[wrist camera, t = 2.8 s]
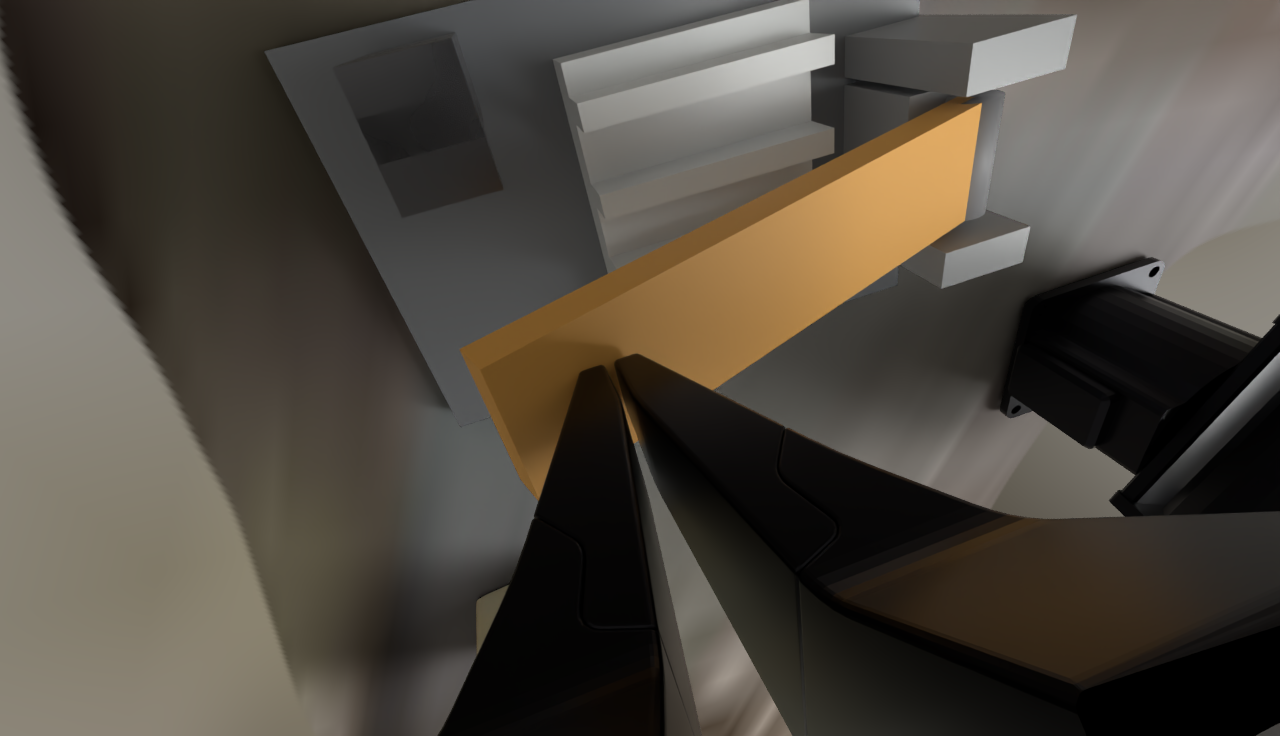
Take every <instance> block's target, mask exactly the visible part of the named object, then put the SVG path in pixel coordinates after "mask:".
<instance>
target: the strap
mask: <svg viewBox="0 0 1280 736" xmlns="http://www.w3.org/2000/svg"><path fill="white" fill-rule="evenodd" d="M1004 98H1005V93H1004V92H1003V91H999V90H989V91H986V92H983V93H979V94H976V95H972V96H969V97H962V96H956V95H951V96H949V97H947V98H946V100H945V103H944V104H942V105H940V106H938V107H936V108H934V109H932V110H930V111H928V112H926V113H924V114H922V115H920V116H918V117H916V118H914V119H912V120H910V121H908V122H906V123H904V124H902V125H900V126H898V127H896V128H894V129H892V130H891V131H889V132H887V133H885V134H883V135H881V136H879V137H877V138H875V139H873V140H871V141H869V142H867V143H865V144H863V145H861V146H859V147H857V148H855V149H853V150H851V151H849V152H847V153H845V154H843V155H841V156H839V157H837V158H835V159H833V160H831V161H829V162H827V163H825V164H823V165H821V166H820V167H818V168H816V169H814V170H812V171H810V172H808V173H806V174H804V175H802V176H800V177H798V178H796V179H794V180H792V181H790V182H788V183H786V184H784V185H782V186H780V187H778V188H776V189H774V190H772V191H770V192H768V193H766V194H764V195H762V196H760V197H758V198H756V199H754V200H752V201H751V202H749V203H747V204H745V205H743V206H741V207H739V208H737V209H735V210H733V211H731V212H729V213H727V214H725V215H723V216H721V217H719V218H717V219H715V220H713V221H711V222H709V223H707V224H705V225H703V226H701V227H699V228H697V229H695V230H693V231H691V232H689V233H687V234H685V235H683V236H682V237H680V238H678V239H676V240H674V241H672V242H670V243H668V244H666V245H664V246H662V247H660V248H658V249H656V250H654V251H652V252H650V253H648V254H646V255H644V256H642V257H640V258H638V259H636V260H634V261H632V262H630V263H628V264H626V265H624V266H622V267H620V268H618V269H616V270H614V271H612V272H611V273H609V274H607V275H605V276H603V277H601V278H599V279H597V280H595V281H593V282H591V283H589V284H587V285H585V286H583V287H581V288H579V289H577V290H575V291H573V292H571V293H569V294H567V295H565V296H563V297H561V298H559V299H557V300H555V301H553V302H551V303H549V304H547V305H545V306H543V307H542V308H540V309H538V310H536V311H534V312H532V313H530V314H528V315H526V316H524V317H522V318H520V319H518V320H516V321H514V322H512V323H510V324H508V325H506V326H504V327H502V328H500V329H498V330H496V331H494V332H492V333H490V334H488V335H486V336H484V337H482V338H480V339H478V340H476V341H474V342H473V343H471V344H469V345H467V346H465V347H463V348H461V349H459V350H460V352H461V354H462V356H463V358H464V360H465V362H466V365H467V367H468V369H469V371H470V373H471V375H472V377H473V379H474V382H475V384H476V386H477V388H478V390H479V392H480V394H481V396H482V399H483V401H484V403H485V405H486V407H487V409H488V411H489V413H490V416H491V418H492V420H493V422H494V424H495V426H496V428H497V430H498V432H499V435H500V437H501V439H502V441H503V443H504V445H505V447H506V449H507V452H508V454H509V456H510V458H511V460H512V462H513V464H514V466H515V469H516V471H517V473H518V475H519V477H520V479H521V481H522V482H523V483H524V484H525V486H526V487H527V488H528V489H529V490H530V492H531V493H532V494H533V495H534V496H535V498H536V499H537V500H538V501H539V498H540V495H541V492H542V489H543V485H544V482H545V479H546V476H547V473H548V470H549V467H550V464H551V460H552V457H553V454H554V451H555V448H556V445H557V442H558V438H559V435H560V432H561V429H562V426H563V423H564V420H565V417H566V413H567V410H568V407H569V404H570V401H571V398H572V395H573V391H574V388H575V385H576V382H577V379H578V376H579V373H580V372H581V371H583V370H586V369H589V368H592V367H595V366H598V365H604V366H605V367H606V369H607V371H608V374H609V376H610V378H611V380H612V382H613V384H614V386H615V388H616V390H617V392H618V395H619V397H620V399H621V402H622V404H623V408H624V411H625V415H626V418H627V422H628V425H629V429H630V433H631V436H632V440H633V443H635V442H637V441H638V438H637V435H636V432H635V430H634V427H633V425H632V422H631V419H630V417H629V414H628V412H627V409H626V406H625V403H624V399H623V396H622V392H621V388H620V385H619V381H618V378H617V374H616V371H615V366H614V362H615V361H616V360H617V359H620V358H623V357H626V356H628V355H631V354H635V353H638V354H641V355H643V356H645V357H647V358H649V359H651V360H653V361H655V362H657V363H659V364H661V365H663V366H665V367H667V368H669V369H671V370H673V371H675V372H677V373H679V374H681V375H683V376H685V377H687V378H689V379H691V380H693V381H695V382H697V383H699V384H701V385H703V386H705V387H707V388H709V389H711V390H714V389H715V388H717V387H718V386H720V385H721V384H723V383H724V382H726V381H727V380H729V379H730V378H732V377H733V376H735V375H736V374H738V373H739V372H741V371H742V370H744V369H745V368H747V367H748V366H750V365H751V364H753V363H754V362H756V361H757V360H759V359H760V358H762V357H763V356H765V355H766V354H767V353H769V352H770V351H772V350H773V349H775V348H776V347H778V346H779V345H781V344H782V343H784V342H785V341H787V340H788V339H790V338H791V337H793V336H794V335H796V334H797V333H799V332H800V331H802V330H803V329H805V328H806V327H808V326H809V325H811V324H812V323H814V322H815V321H817V320H818V319H820V318H821V317H823V316H824V315H825V314H827V313H828V312H830V311H831V310H833V309H834V308H836V307H837V306H839V305H840V304H842V303H843V302H845V301H846V300H848V299H849V298H851V297H852V296H854V295H855V294H857V293H858V292H860V291H861V290H863V289H864V288H866V287H867V286H869V285H870V284H872V283H873V282H875V281H876V280H878V279H879V278H881V277H882V276H883V275H885V274H886V273H888V272H889V271H891V270H892V269H894V268H895V267H897V266H898V265H900V264H901V263H903V262H904V261H906V260H907V259H909V258H910V257H912V256H913V255H915V254H916V253H918V252H919V251H921V250H922V249H924V248H925V247H927V246H928V245H930V244H931V243H933V242H934V241H936V240H937V239H938V238H940V237H941V236H943V235H944V234H946V233H947V232H949V231H950V230H952V229H953V228H955V227H956V226H958V225H959V224H961V223H962V222H964V221H967V220H973V219H976V218H979V217H981V216H983V215H984V214H985V212H986V206H987V200H988V194H989V188H990V182H991V176H992V170H993V164H994V158H995V152H996V146H997V140H998V134H999V128H1000V122H1001V116H1002V110H1003V104H1004Z"/></svg>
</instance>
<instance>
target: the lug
mask: <svg viewBox="0 0 1280 736" xmlns="http://www.w3.org/2000/svg"><path fill="white" fill-rule="evenodd" d="M333 71H334V73H335V75H336V77H337V79H338V81H339V83H340V86H341V88H342V90H343V92H344V94H345V96H346V98H347V101H348V103H349V105H350V107H351V109H352V111H353V113H354V116H355V118H356V120H357V122H358V124H359V126H360V128H361V131H362V133H363V135H364V137H365V139H366V141H367V143H368V146H369V148H370V150H371V152H372V154H373V156H374V159H375V161H376V163H377V165H378V167H379V169H380V171H381V174H382V176H383V178H384V180H385V182H386V184H387V186H388V189H389V191H390V193H391V195H392V197H393V199H394V201H395V204H396V206H397V208H398V210H399V212H400V214H401V216H402V218H404V217H408V216H412V215H415V214H419V213H422V212H426V211H429V210H433V209H436V208H440V207H443V206H447V205H450V204H454V203H458V202H461V201H465V200H468V199H472V198H475V197H479V196H482V195H486V194H489V193H493V192H497V191H500V190H504V189H503V184H502V180H501V177H500V174H499V171H498V168H497V166H496V163H495V160H494V157H493V154H492V151H491V148H490V145H489V142H488V139H487V137H486V134H485V131H484V125H483V118H482V112H481V106H480V103H479V100H478V97H477V95H476V92H475V89H474V86H473V83H472V80H471V77H470V74H469V71H468V68H467V65H466V62H465V59H464V56H463V53H462V50H461V47H460V44H459V42H458V39H457V36H456V33H455V32H454V33H450V34H446V35H442V36H438V37H434V38H430V39H426V40H422V41H418V42H414V43H410V44H406V45H402V46H398V47H394V48H390V49H386V50H382V51H378V52H374V53H370V54H367V55H364V56H362V57H359V58H357V59H354V60H352V61H349V62H346V63H344V64H341V65H339V66H336V67H334V68H333Z"/></svg>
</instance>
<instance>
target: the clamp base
mask: <svg viewBox="0 0 1280 736" xmlns="http://www.w3.org/2000/svg"><path fill="white" fill-rule="evenodd" d="M919 4H920V0H471V1H467V2H463V3H459V4H455V5H451V6H447V7H443V8H439V9H434V10H430V11H426V12H422V13H418V14H414V15H410V16H406V17H402V18H398V19H394V20H390V21H386V22H381V23H377V24H373V25H369V26H365V27H361V28H357V29H353V30H349V31H345V32H341V33H337V34H333V35H328V36H324V37H320V38H316V39H312V40H308V41H304V42H300V43H296V44H292V45H288V46H284V47H280V48H275V49H271V50H267V51H264V52H265V54H266V56H267V58H268V60H269V62H270V64H271V66H272V67H273V69H274V71H275V73H276V75H277V77H278V79H279V81H280V83H281V85H282V87H283V89H284V90H285V92H286V94H287V96H288V98H289V100H290V102H291V104H292V106H293V108H294V110H295V112H296V113H297V115H298V117H299V119H300V121H301V123H302V125H303V127H304V129H305V131H306V133H307V135H308V136H309V138H310V140H311V142H312V144H313V146H314V148H315V150H316V152H317V154H318V156H319V157H320V159H321V161H322V163H323V165H324V167H325V169H326V171H327V173H328V175H329V177H330V179H331V180H332V182H333V184H334V186H335V188H336V190H337V192H338V194H339V196H340V198H341V200H342V202H343V203H344V205H345V207H346V209H347V211H348V213H349V215H350V217H351V219H352V221H353V223H354V225H355V226H356V228H357V230H358V232H359V234H360V236H361V238H362V240H363V242H364V244H365V246H366V248H367V249H368V251H369V253H370V255H371V257H372V259H373V261H374V263H375V265H376V267H377V269H378V271H379V272H380V274H381V276H382V278H383V280H384V282H385V284H386V286H387V288H388V290H389V292H390V294H391V295H392V297H393V299H394V301H395V303H396V305H397V307H398V309H399V311H400V313H401V315H402V316H403V318H404V320H405V322H406V324H407V326H408V328H409V330H410V332H411V334H412V336H413V338H414V339H415V341H416V343H417V345H418V347H419V349H420V351H421V353H422V355H423V357H424V359H425V361H426V362H427V364H428V366H429V368H430V370H431V372H432V374H433V376H434V378H435V380H436V382H437V384H438V385H439V387H440V389H441V391H442V393H443V395H444V397H445V399H446V401H447V403H448V405H449V407H450V408H451V410H452V412H453V414H454V416H455V418H456V420H457V422H458V424H459V426H460V427H462V426H466V425H469V424H472V423H475V422H478V421H481V420H484V419H487V418H490V417H491V416H490V413H489V411H488V409H487V407H486V405H485V403H484V401H483V399H482V396H481V394H480V392H479V390H478V388H477V386H476V384H475V382H474V379H473V377H472V375H471V373H470V371H469V369H468V367H467V365H466V362H465V360H464V358H463V356H462V354H461V352H460V350H459V349H461V348H463V347H465V346H467V345H469V344H471V343H473V342H474V341H476V340H478V339H480V338H482V337H484V336H486V335H488V334H490V333H492V332H494V331H496V330H498V329H500V328H502V327H504V326H506V325H508V324H510V323H512V322H514V321H516V320H518V319H520V318H522V317H524V316H526V315H528V314H530V313H532V312H534V311H536V310H538V309H540V308H542V307H543V306H545V305H547V304H549V303H551V302H553V301H555V300H557V299H559V298H561V297H563V296H565V295H567V294H569V293H571V292H573V291H575V290H577V289H579V288H581V287H583V286H585V285H587V284H589V283H591V282H593V281H595V280H597V279H599V278H601V277H603V276H605V275H607V274H609V273H611V272H612V271H614V270H616V269H618V268H620V267H622V266H624V265H626V264H628V263H630V262H632V261H634V260H636V259H638V258H640V257H642V256H644V255H646V254H648V253H650V252H652V251H654V250H656V249H658V248H660V247H662V246H664V245H666V244H668V243H670V242H672V241H674V240H676V239H678V238H680V237H682V236H683V235H685V234H687V233H689V232H691V231H693V230H695V229H697V228H699V227H701V226H703V225H705V224H707V223H709V222H711V221H713V220H715V219H717V218H719V217H721V216H723V215H725V214H727V213H729V212H731V211H733V210H735V209H737V208H739V207H741V206H743V205H745V204H747V203H749V202H751V201H752V200H754V199H756V198H758V197H760V196H762V195H764V194H766V193H768V192H770V191H772V190H774V189H776V188H778V187H780V186H782V185H784V184H786V183H788V182H790V181H792V180H794V179H796V178H798V177H800V176H802V175H804V174H806V173H808V172H810V171H812V170H814V169H816V168H818V167H820V166H821V165H823V164H825V163H827V162H829V161H831V160H833V159H835V158H837V157H839V156H841V155H843V154H845V153H847V152H849V151H851V150H853V149H855V148H857V147H859V146H861V145H863V144H865V143H867V142H869V141H871V140H873V139H875V138H877V137H879V136H881V135H883V134H885V133H887V132H889V131H891V130H892V129H894V128H896V127H898V126H900V125H902V124H904V123H906V122H908V121H910V120H912V119H914V118H916V117H918V116H920V115H922V114H924V113H926V112H928V111H930V110H932V109H934V108H936V107H938V106H940V105H942V104H944V103H945V100H946V98H947V97H949V96H951V95H956V96H962V97H969V96H972V95H976V94H979V93H983V92H986V91H989V90H995V89H996V88H1000V87H1003V86H1007V85H1010V84H1014V83H1017V82H1020V81H1024V80H1027V79H1031V78H1034V77H1038V76H1041V75H1045V74H1048V73H1051V72H1055V71H1058V70H1062V69H1065V67H1066V63H1067V58H1068V54H1069V49H1070V45H1071V40H1072V35H1073V31H1074V26H1075V22H1076V17H1077V14H1051V15H919ZM454 32H455V33H456V36H457V39H458V42H459V44H460V47H461V50H462V53H463V56H464V59H465V62H466V65H467V68H468V71H469V74H470V77H471V80H472V83H473V86H474V89H475V92H476V95H477V97H478V100H479V103H480V106H481V112H482V118H483V125H484V131H485V134H486V137H487V139H488V142H489V145H490V148H491V151H492V154H493V157H494V160H495V163H496V166H497V168H498V171H499V174H500V177H501V180H502V184H503V189H504V190H500V191H497V192H493V193H489V194H486V195H482V196H479V197H475V198H472V199H468V200H465V201H461V202H458V203H454V204H450V205H447V206H443V207H440V208H436V209H433V210H429V211H426V212H422V213H419V214H415V215H412V216H408V217H404V218H402V216H401V214H400V212H399V210H398V208H397V206H396V204H395V201H394V199H393V197H392V195H391V193H390V191H389V189H388V186H387V184H386V182H385V180H384V178H383V176H382V174H381V171H380V169H379V167H378V165H377V163H376V161H375V159H374V156H373V154H372V152H371V150H370V148H369V146H368V143H367V141H366V139H365V137H364V135H363V133H362V131H361V128H360V126H359V124H358V122H357V120H356V118H355V116H354V113H353V111H352V109H351V107H350V105H349V103H348V101H347V98H346V96H345V94H344V92H343V90H342V88H341V86H340V83H339V81H338V79H337V77H336V75H335V73H334V71H333V68H334V67H336V66H339V65H341V64H344V63H346V62H349V61H352V60H354V59H357V58H359V57H362V56H364V55H367V54H370V53H374V52H378V51H382V50H386V49H390V48H394V47H398V46H402V45H406V44H410V43H414V42H418V41H422V40H426V39H430V38H434V37H438V36H442V35H446V34H450V33H454ZM1030 227H1031V226H1028V225H1026V224H1023V223H1020V222H1018V221H1015V220H1012V219H1010V218H1007V217H1004V216H1002V215H999V214H996V213H994V212H991V211H988V210H986V212H985V214H984V215H983V216H981V217H979V218H976V219H973V220H967V221H964V222H962V223H961V224H959V225H958V226H956V227H955V228H953V229H952V230H950V231H949V232H947V233H946V234H944V235H943V236H941V237H940V238H938V239H937V240H936V241H934V242H933V243H931V244H930V245H928V246H927V247H925V248H924V249H922V250H921V251H919V252H918V253H916V254H915V255H913V256H912V257H910V258H909V259H907V260H906V261H904V262H903V263H901V264H900V265H901V266H902V267H904V268H906V269H908V270H909V271H911V272H913V273H914V274H916V275H918V276H920V277H921V278H923V279H925V280H927V281H928V282H930V283H932V284H934V285H935V286H937V287H939V288H941V289H943V288H946V287H949V286H952V285H955V284H958V283H961V282H964V281H967V280H970V279H973V278H976V277H979V276H982V275H985V274H988V273H991V272H994V271H997V270H1001V269H1004V268H1007V267H1010V266H1013V265H1016V264H1019V263H1022V262H1023V258H1024V254H1025V249H1026V245H1027V240H1028V236H1029V231H1030ZM898 271H899V265H898V266H897V267H895V268H894V269H892V270H891V271H889V272H888V273H886V274H885V275H883V276H882V277H881V278H879V279H878V280H876V281H875V282H873V283H872V284H870V285H869V286H867V287H866V288H864V289H863V290H861V291H860V292H858V293H857V294H855V295H854V296H852V297H851V298H849V299H848V300H846V301H845V302H848V301H851V300H854V299H857V298H860V297H863V296H866V295H869V294H872V293H875V292H878V291H881V290H885V289H888V288H891V287H894V286H897V284H898ZM843 303H844V302H843Z"/></svg>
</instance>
